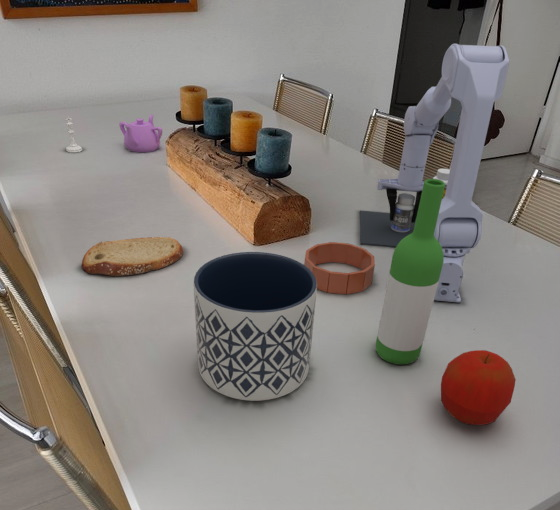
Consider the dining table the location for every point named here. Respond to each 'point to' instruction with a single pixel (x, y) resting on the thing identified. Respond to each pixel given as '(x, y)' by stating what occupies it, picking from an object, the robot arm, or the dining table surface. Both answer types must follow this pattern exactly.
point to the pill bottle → (403, 213)
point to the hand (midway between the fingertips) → (402, 220)
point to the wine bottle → (412, 283)
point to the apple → (477, 387)
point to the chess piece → (72, 138)
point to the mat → (379, 230)
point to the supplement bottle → (443, 177)
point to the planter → (254, 324)
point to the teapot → (141, 135)
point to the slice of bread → (131, 256)
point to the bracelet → (341, 254)
